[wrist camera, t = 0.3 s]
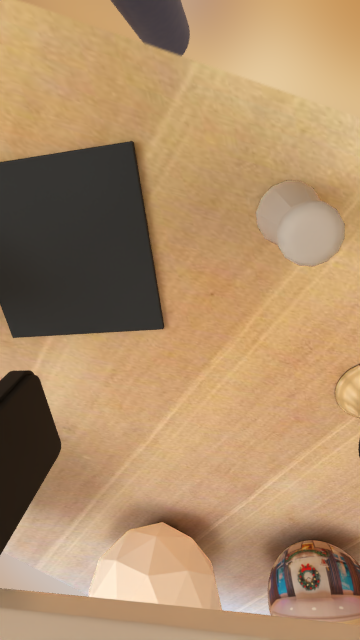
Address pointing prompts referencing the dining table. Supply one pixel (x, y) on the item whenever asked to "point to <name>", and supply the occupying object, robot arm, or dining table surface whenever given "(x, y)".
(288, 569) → the ornament
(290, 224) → the salt shaker
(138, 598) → the ball
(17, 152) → the dining table surface
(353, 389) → the hand bell
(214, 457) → the dining table surface
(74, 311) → the mat
